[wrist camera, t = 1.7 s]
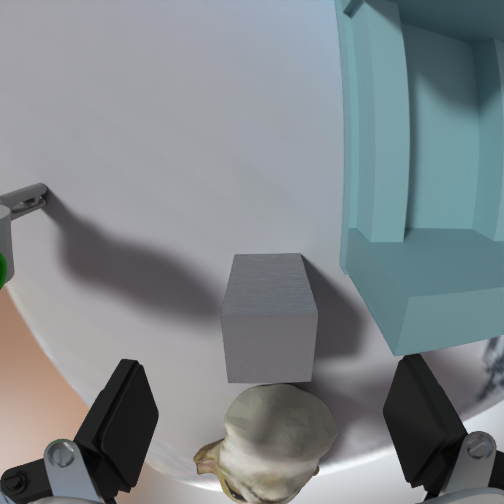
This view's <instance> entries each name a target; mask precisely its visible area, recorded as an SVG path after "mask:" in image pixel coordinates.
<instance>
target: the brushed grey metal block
mask: <svg viewBox="0 0 504 504" xmlns="http://www.w3.org/2000/svg"><path fill="white" fill-rule="evenodd" d="M317 322H318V310H317V307H316V303H315V300H314V297H313V293H312V290H311V287H310V284H309V280H308V277H307V274H306V271H305V267H304V264H303V261H302V258H301V255H300V253H286V254H235V255H234V259H233V264H232V268H231V272H230V276H229V281H228V285H227V289H226V294H225V298H224V302H223V307H222V311H221V323H222V333H223V342H224V351H225V360H226V369H227V377H228V383H288V382H309V381H311V378H312V370H313V361H314V352H315V343H316V333H317Z"/></svg>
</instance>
